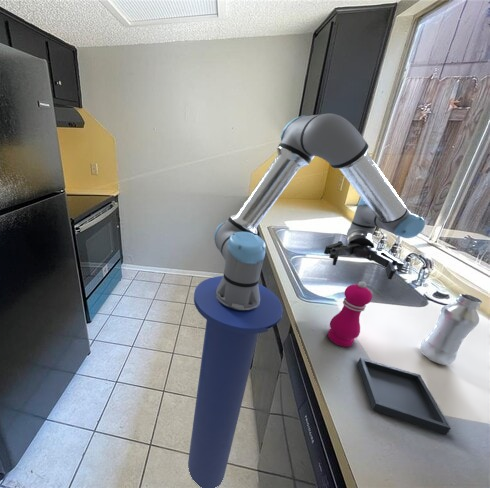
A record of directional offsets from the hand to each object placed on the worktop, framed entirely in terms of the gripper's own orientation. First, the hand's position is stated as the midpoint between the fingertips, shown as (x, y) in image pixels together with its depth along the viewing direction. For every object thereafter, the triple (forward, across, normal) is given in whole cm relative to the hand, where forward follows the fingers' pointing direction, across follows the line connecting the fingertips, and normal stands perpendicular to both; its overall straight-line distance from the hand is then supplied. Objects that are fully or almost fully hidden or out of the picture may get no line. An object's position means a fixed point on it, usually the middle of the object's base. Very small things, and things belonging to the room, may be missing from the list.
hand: (362, 267), depth 76 cm
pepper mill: (+10, 0, -20) cm, 22 cm away
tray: (+23, -12, -20) cm, 32 cm away
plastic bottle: (+2, -22, -20) cm, 30 cm away
